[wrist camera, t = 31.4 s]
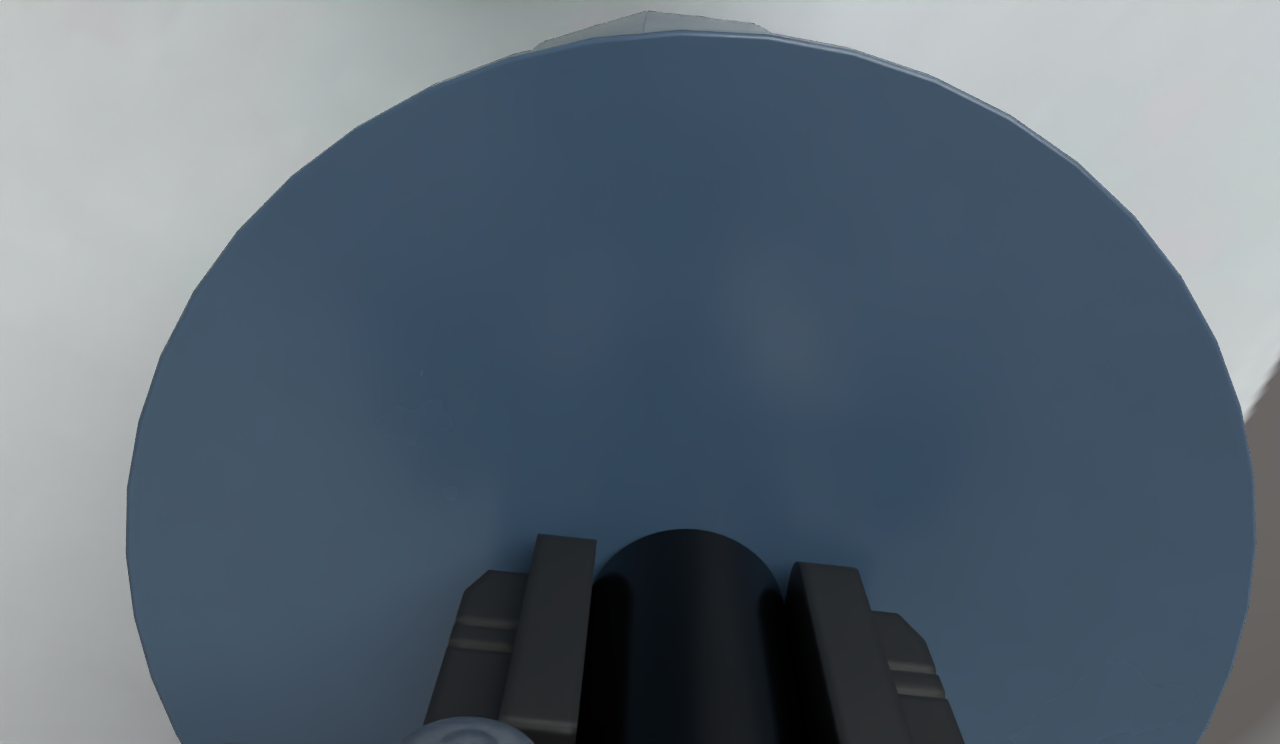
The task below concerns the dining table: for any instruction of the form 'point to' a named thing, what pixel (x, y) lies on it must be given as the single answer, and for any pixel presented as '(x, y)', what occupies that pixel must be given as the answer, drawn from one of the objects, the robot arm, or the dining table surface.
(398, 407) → the lid
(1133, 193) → the dining table surface
